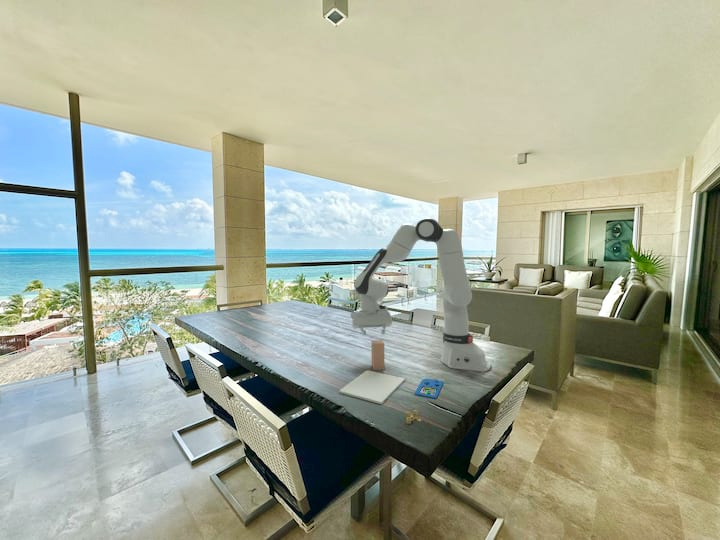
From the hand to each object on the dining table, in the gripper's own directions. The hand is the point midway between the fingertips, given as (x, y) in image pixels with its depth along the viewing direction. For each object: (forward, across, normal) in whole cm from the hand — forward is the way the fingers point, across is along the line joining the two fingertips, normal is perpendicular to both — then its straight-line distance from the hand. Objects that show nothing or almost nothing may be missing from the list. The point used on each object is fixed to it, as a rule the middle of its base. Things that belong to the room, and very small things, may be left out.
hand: (374, 334), depth 144 cm
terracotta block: (+15, 0, +4) cm, 16 cm away
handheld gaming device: (+33, +16, -13) cm, 38 cm away
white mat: (+28, -6, -10) cm, 31 cm away
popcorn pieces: (+46, +2, -26) cm, 53 cm away
